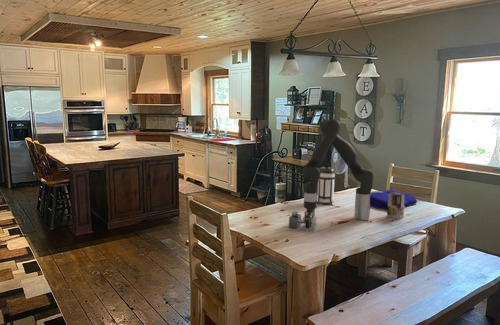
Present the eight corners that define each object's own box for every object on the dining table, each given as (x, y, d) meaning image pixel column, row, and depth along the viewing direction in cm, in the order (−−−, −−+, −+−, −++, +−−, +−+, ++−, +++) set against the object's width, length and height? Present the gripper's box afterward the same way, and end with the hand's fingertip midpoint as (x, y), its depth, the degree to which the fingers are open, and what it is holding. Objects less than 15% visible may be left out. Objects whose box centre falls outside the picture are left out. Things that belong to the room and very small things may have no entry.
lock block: (316, 228, 228) (316, 216, 226) (314, 231, 223) (314, 219, 222) (304, 227, 231) (305, 215, 229) (302, 229, 226) (302, 217, 225)
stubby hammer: (311, 227, 230) (312, 213, 229) (308, 231, 223) (308, 216, 222) (293, 224, 235) (293, 210, 234) (288, 228, 228) (289, 213, 226)
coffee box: (403, 217, 252) (405, 193, 250) (400, 219, 248) (401, 195, 245) (390, 214, 259) (392, 191, 256) (386, 216, 254) (388, 193, 251)
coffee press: (310, 201, 288) (311, 163, 283) (327, 199, 294) (329, 162, 290) (323, 207, 273) (324, 167, 268) (341, 205, 279) (343, 165, 274)
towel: (417, 204, 286) (418, 193, 285) (392, 212, 264) (393, 200, 262) (386, 197, 306) (387, 186, 305) (360, 204, 284) (361, 193, 283)
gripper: (313, 203, 216) (312, 230, 219) (319, 197, 229) (318, 223, 231) (300, 201, 219) (299, 228, 222) (307, 196, 232) (306, 221, 234)
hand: (309, 225), depth 227 cm, fingers open, 8 cm apart
